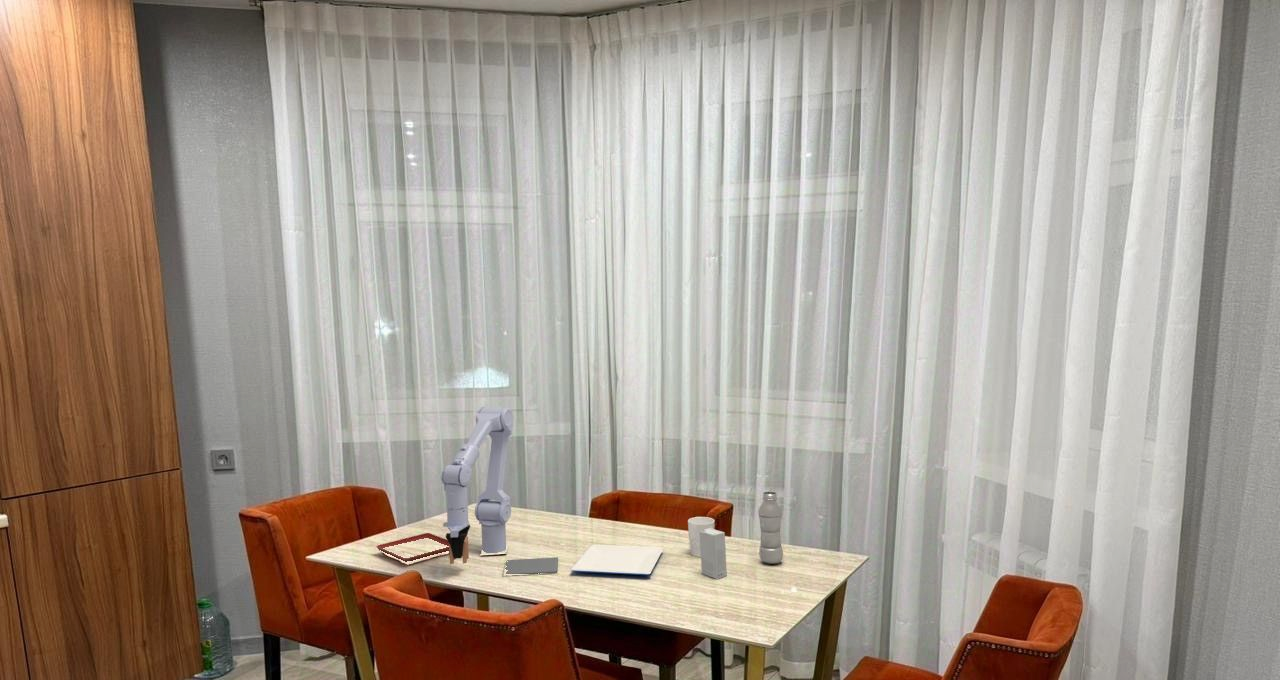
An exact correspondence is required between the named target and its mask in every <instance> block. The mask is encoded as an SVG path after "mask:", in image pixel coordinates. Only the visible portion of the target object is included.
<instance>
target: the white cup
mask: <svg viewBox="0 0 1280 680" xmlns="http://www.w3.org/2000/svg"><path fill="white" fill-rule="evenodd" d="M687 525H688V526H687V528H688V541H689V542H688V543H689V549H690V550H689V551H690V555H691V556H693V557H696V558H701V550H700V531H702V530H705V529H708V528H711V529H714V530H715V519H714V518H712V517H707V516H695V517H690V518H689V519H688V520H687Z"/></svg>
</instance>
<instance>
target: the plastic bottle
mask: <svg viewBox="0 0 1280 680" xmlns="http://www.w3.org/2000/svg"><path fill="white" fill-rule="evenodd" d="M777 495H778V494H777V492H775V491H765V492H763V493H762V496H763V497H762V500H763V502H762V503H761V505H760V506H759V508H758V511H757V513H758V519H759V527H760V546H759V552H758V554H759V555H758V556H759V559H760V560H761V562H762V563H765V564H769V565H770V564H771V565H775V564H780V563H782V562H781V561H782V560H783V559H784V558H783V556H784V552H783V550H784V549H783V548H782V547H783V546H782V539H781V523H782V515H783V514H782V513H783V512H782V509H781V507H780V505H779V504H778V502H777V500H778V499H777V498H778V497H777Z"/></svg>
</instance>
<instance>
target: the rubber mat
mask: <svg viewBox="0 0 1280 680" xmlns="http://www.w3.org/2000/svg"><path fill="white" fill-rule="evenodd" d="M506 560H507V561H508V562H507V561H505V564H504V566H505V565H506V566H507V567H506V568H505V567H504V568H505V569H506V570H508V571H507V572H506V574H538V573H539V574H540V573H557V572H558V568H559V557H558V556H557V557H555V556H553V557H541V558H540V557H539V558H537V557H536V558H521V559H517V558H516V559H506ZM540 575H541V574H540Z"/></svg>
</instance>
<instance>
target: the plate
mask: <svg viewBox="0 0 1280 680" xmlns="http://www.w3.org/2000/svg"><path fill="white" fill-rule="evenodd" d="M664 549H665V548H664V547H659V546H638V545H637V546H636V545H616V544H615V545H611V544H594V543H593V544H590V546H589V547H588V548H587V549H586V551H585V552H584V553H582V555H581V557H579V559H577V561H576V562H575V564H574V565H572V567H571V569H570V571H571V572H577V573H579V572H580V573H597V574H598V573H599V574H616V575H617V574H619V575H620V574H621V575H633V576H634V575H637V576H638V575H639V576H649V575H651V572H652V571H653V570H654V568H655V565H656V563H657V562H658V560H659V558H660V556H661V554H662V552H663V551H664Z"/></svg>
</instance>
